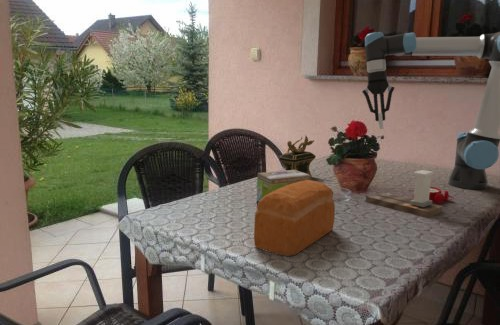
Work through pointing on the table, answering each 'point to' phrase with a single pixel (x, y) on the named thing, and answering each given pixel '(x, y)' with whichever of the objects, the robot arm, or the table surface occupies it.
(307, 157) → the decorative box
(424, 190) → the fader tab
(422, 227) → the table surface
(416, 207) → the board
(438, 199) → the alarm clock
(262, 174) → the tea box
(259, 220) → the bread
